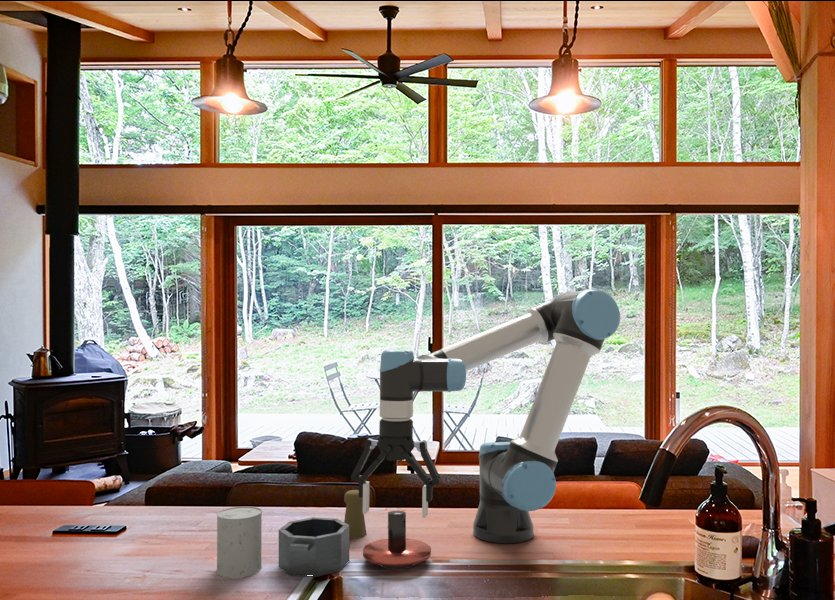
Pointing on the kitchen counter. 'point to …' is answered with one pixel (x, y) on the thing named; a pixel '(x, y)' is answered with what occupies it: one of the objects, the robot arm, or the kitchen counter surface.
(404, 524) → the lid
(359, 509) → the olive pepper mill
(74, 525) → the kitchen counter surface
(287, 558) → the pot
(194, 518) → the kitchen counter surface
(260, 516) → the grey concrete cylinder
